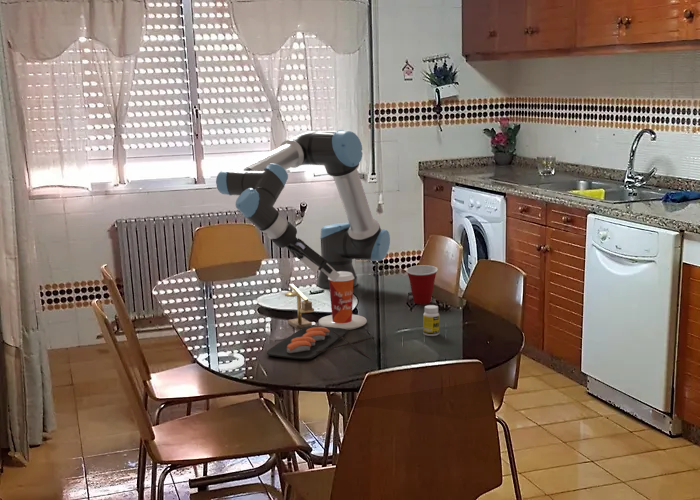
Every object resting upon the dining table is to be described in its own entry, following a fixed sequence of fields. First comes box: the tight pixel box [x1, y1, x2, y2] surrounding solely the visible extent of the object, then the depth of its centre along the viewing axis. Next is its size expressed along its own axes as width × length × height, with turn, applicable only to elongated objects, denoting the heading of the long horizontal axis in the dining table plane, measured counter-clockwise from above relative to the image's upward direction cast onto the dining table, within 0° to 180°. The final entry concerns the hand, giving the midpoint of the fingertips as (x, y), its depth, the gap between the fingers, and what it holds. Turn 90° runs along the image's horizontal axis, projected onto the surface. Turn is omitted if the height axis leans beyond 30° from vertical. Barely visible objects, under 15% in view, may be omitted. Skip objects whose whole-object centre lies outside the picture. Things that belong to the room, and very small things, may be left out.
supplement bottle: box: [422, 304, 440, 337], centre depth 238 cm, size 5×5×8 cm
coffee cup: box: [328, 271, 354, 323], centre depth 249 cm, size 8×8×15 cm
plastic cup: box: [405, 264, 439, 305], centre depth 273 cm, size 11×11×12 cm
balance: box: [284, 283, 315, 330], centre depth 250 cm, size 16×5×12 cm, turn 27°
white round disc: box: [318, 313, 368, 331], centre depth 251 cm, size 15×15×1 cm
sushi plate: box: [266, 325, 375, 361], centre depth 228 cm, size 29×30×4 cm
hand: (326, 273), depth 245 cm, fingers open, 13 cm apart
